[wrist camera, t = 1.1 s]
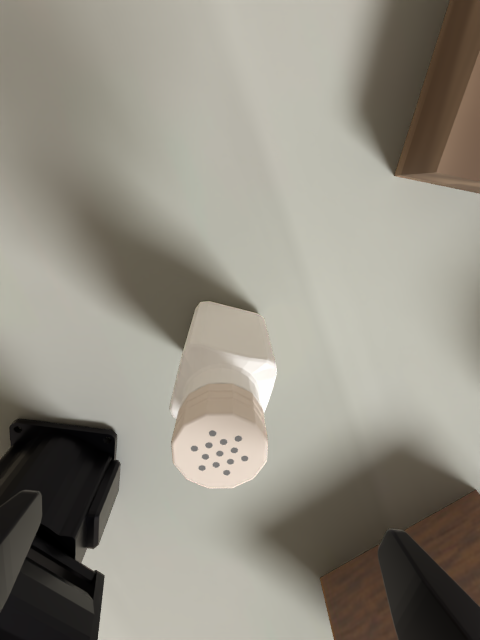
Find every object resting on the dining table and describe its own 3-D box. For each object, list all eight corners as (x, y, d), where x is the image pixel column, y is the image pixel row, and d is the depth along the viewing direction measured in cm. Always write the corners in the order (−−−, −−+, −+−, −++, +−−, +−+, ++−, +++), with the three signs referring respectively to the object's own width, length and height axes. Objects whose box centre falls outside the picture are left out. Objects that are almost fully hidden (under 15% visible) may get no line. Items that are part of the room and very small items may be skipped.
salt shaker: (183, 356, 20) (147, 487, 11) (198, 295, 19) (170, 388, 10) (247, 371, 21) (261, 508, 12) (266, 312, 19) (298, 416, 10)
